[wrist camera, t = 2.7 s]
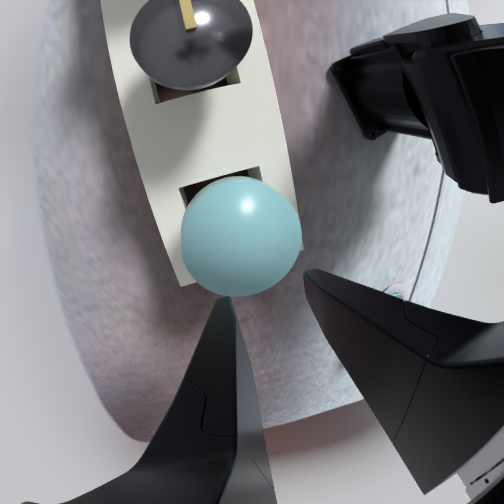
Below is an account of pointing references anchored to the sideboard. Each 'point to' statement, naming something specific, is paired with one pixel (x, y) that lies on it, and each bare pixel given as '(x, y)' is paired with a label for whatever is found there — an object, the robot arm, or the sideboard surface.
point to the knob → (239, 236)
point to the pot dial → (190, 41)
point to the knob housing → (197, 128)
